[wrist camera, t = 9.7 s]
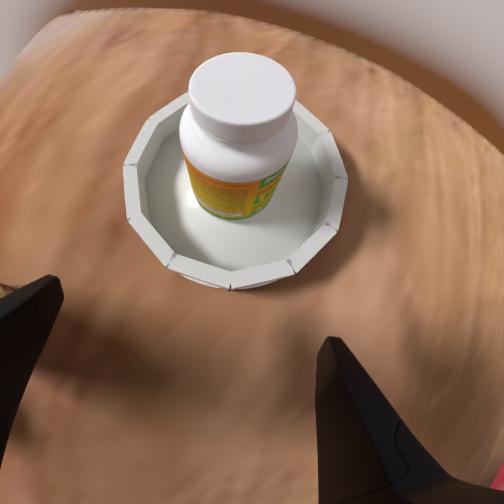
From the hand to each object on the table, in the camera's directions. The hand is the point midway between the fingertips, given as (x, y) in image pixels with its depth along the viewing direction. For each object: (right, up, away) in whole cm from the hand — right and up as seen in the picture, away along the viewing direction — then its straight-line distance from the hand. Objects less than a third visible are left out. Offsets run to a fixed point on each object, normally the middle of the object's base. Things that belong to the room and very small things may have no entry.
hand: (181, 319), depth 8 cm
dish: (+1, +7, +11) cm, 13 cm away
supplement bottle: (+1, +6, +10) cm, 12 cm away
